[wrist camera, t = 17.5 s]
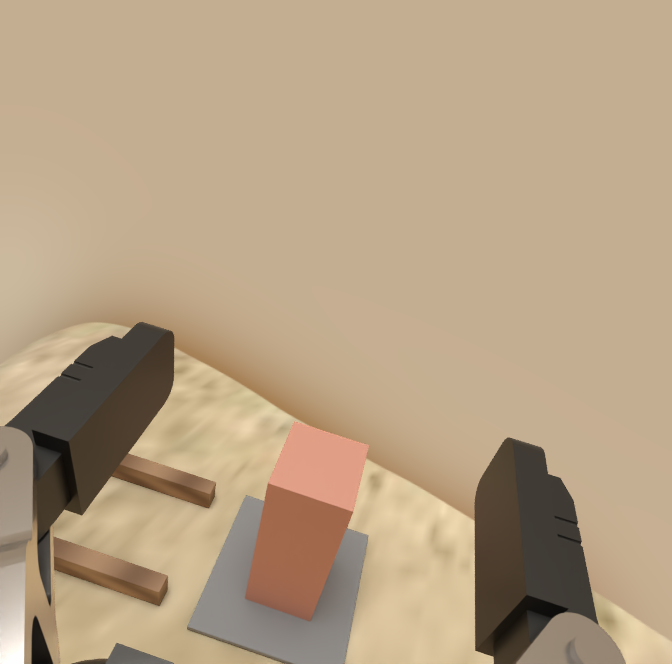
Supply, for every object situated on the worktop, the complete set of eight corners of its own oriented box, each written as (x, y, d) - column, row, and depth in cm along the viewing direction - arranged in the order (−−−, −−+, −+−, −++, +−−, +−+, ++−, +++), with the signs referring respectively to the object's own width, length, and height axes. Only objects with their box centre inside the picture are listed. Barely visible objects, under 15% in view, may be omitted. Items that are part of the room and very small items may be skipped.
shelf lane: (214, 496, 43) (218, 459, 40) (159, 605, 35) (158, 570, 32) (42, 439, 44) (33, 399, 41) (-48, 534, 36) (-67, 493, 33)
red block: (326, 558, 40) (368, 445, 32) (310, 621, 36) (353, 511, 28) (268, 538, 40) (294, 421, 32) (244, 598, 36) (268, 483, 28)
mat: (367, 537, 43) (368, 535, 42) (339, 682, 34) (341, 679, 33) (245, 497, 43) (245, 495, 43) (187, 629, 34) (187, 626, 34)
